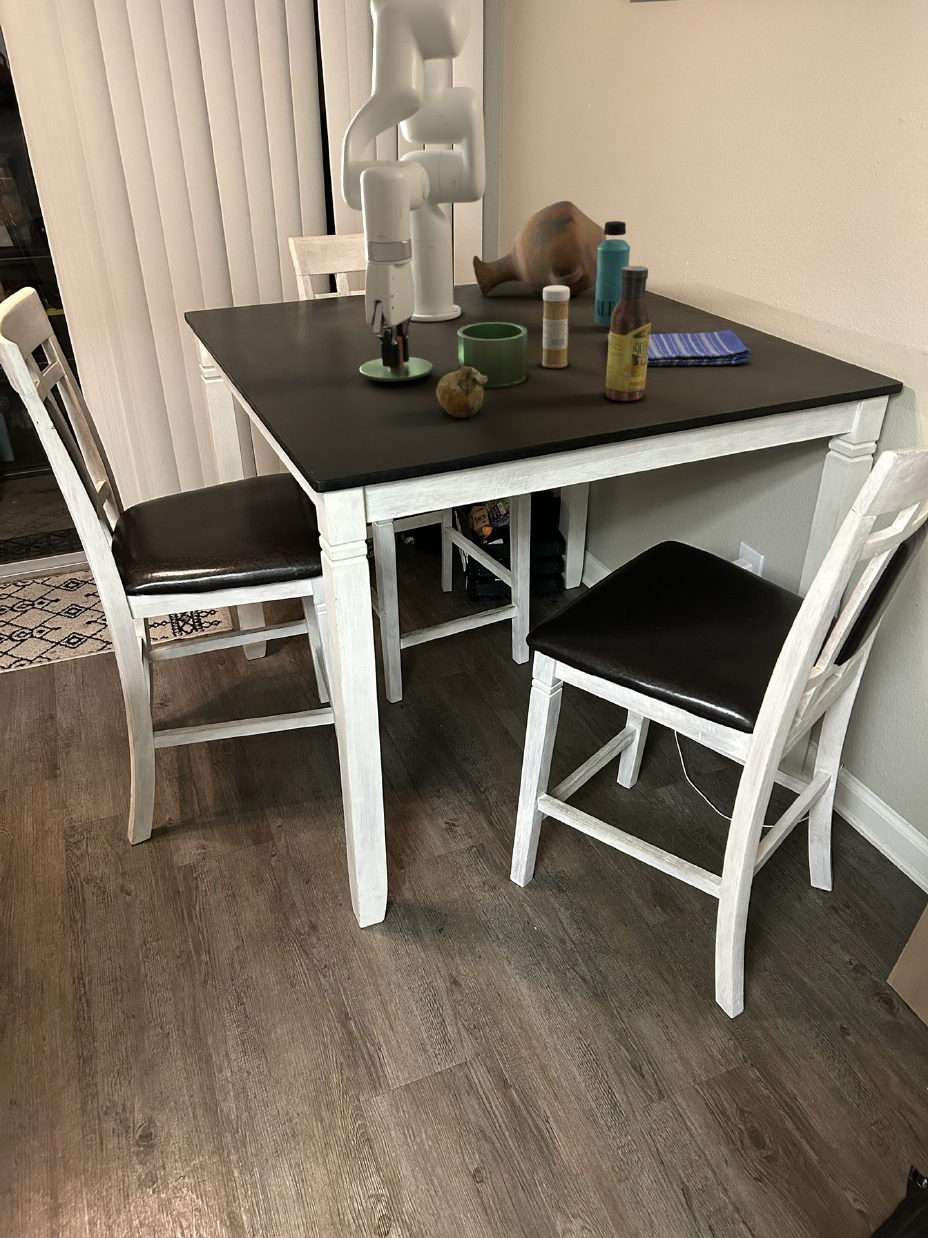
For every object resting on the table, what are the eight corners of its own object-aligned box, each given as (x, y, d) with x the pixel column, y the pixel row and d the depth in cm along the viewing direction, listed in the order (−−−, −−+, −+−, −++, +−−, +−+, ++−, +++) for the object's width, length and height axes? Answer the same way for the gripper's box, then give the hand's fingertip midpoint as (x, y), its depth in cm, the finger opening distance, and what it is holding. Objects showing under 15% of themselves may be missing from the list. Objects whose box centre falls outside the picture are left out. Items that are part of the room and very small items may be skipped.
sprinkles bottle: (568, 362, 165) (571, 284, 158) (565, 369, 161) (568, 290, 154) (543, 361, 166) (544, 284, 159) (540, 368, 162) (541, 289, 155)
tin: (448, 384, 156) (447, 336, 152) (473, 365, 165) (473, 319, 161) (512, 391, 152) (513, 342, 148) (535, 371, 161) (536, 324, 157)
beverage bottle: (624, 324, 186) (631, 218, 176) (626, 333, 181) (633, 224, 170) (592, 324, 187) (597, 218, 176) (593, 333, 181) (598, 224, 171)
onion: (482, 404, 147) (481, 354, 143) (489, 421, 140) (488, 369, 136) (435, 407, 146) (432, 357, 142) (440, 424, 139) (437, 372, 135)
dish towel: (752, 366, 160) (754, 349, 159) (616, 367, 161) (617, 351, 160) (731, 339, 175) (733, 324, 174) (606, 341, 176) (607, 326, 175)
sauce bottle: (634, 405, 144) (645, 273, 134) (598, 399, 147) (605, 270, 137) (650, 394, 149) (661, 265, 139) (615, 388, 152) (623, 262, 141)
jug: (614, 288, 214) (489, 308, 221) (605, 197, 208) (477, 221, 215) (607, 289, 195) (472, 311, 203) (598, 189, 189) (458, 216, 197)
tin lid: (347, 380, 157) (344, 344, 153) (380, 360, 167) (378, 325, 163) (414, 387, 153) (412, 350, 149) (444, 366, 162) (442, 331, 159)
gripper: (390, 241, 157) (396, 349, 166) (344, 259, 144) (354, 375, 154) (430, 243, 154) (434, 353, 164) (387, 261, 141) (395, 379, 151)
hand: (395, 362), depth 159 cm, fingers closed on tin lid, 2 cm apart
